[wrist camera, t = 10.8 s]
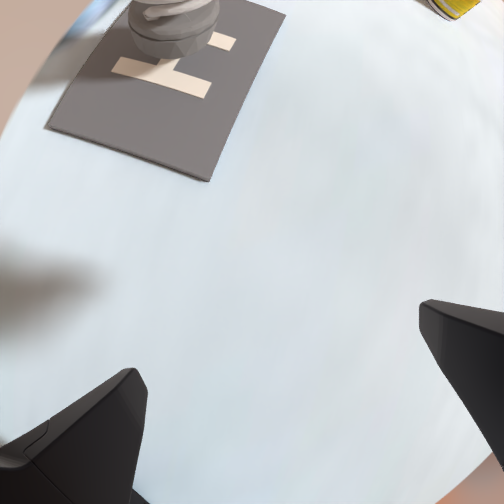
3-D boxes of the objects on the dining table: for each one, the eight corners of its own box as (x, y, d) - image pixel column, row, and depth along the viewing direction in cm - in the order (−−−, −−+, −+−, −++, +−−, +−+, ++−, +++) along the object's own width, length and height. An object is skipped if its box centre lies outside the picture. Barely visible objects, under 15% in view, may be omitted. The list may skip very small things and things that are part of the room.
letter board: (209, 182, 19) (210, 179, 18) (50, 128, 17) (47, 124, 16) (284, 19, 21) (286, 14, 20) (155, -18, 18) (155, -23, 18)
